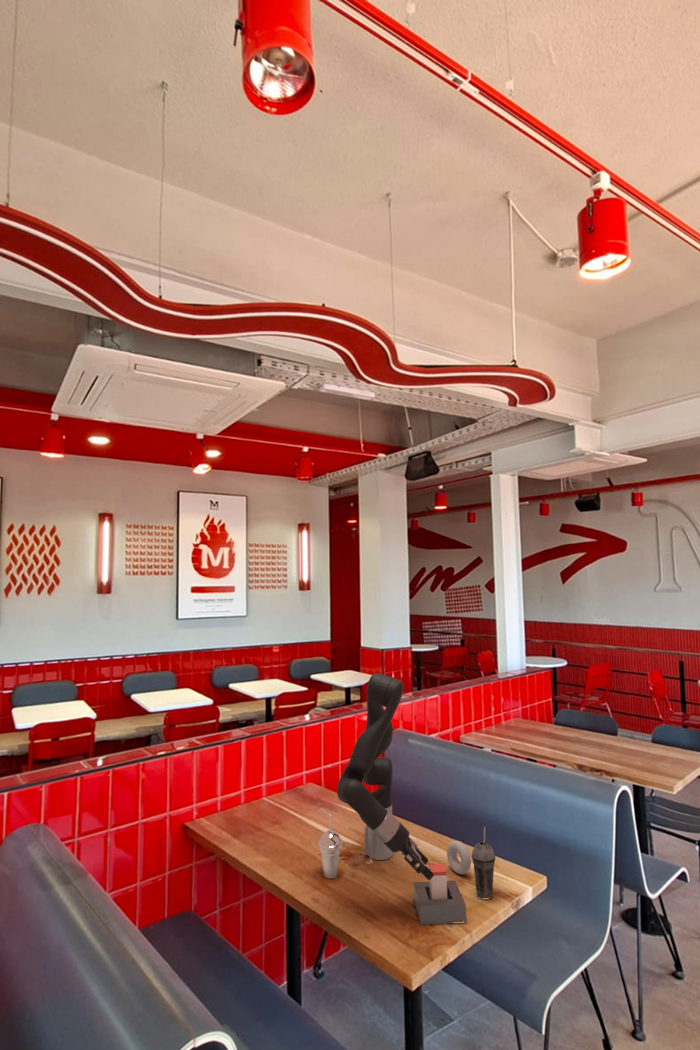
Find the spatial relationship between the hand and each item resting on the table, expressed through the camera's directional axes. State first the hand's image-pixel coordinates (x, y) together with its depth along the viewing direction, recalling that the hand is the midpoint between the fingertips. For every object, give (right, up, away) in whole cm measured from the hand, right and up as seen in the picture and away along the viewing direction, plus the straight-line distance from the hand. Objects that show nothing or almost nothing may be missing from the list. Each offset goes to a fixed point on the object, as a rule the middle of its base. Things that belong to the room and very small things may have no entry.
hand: (428, 869), depth 170 cm
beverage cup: (+18, -12, +7) cm, 23 cm away
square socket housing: (+3, -11, -1) cm, 12 cm away
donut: (+13, -14, +21) cm, 28 cm away
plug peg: (+3, -11, -1) cm, 12 cm away
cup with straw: (-30, -14, +20) cm, 39 cm away
